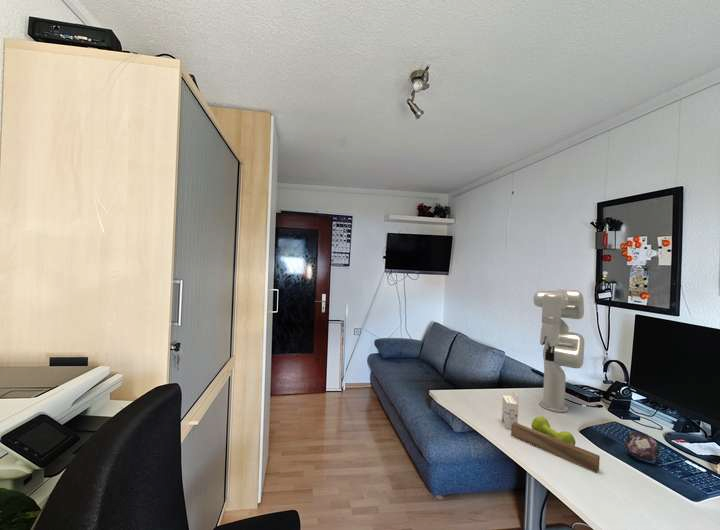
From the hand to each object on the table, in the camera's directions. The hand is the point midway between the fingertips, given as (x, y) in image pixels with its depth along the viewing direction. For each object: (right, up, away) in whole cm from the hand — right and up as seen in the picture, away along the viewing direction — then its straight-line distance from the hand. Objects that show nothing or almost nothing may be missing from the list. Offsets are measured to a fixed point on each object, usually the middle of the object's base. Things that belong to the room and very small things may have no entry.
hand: (549, 360), depth 148 cm
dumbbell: (-8, -29, -16) cm, 34 cm away
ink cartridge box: (-20, -29, -3) cm, 35 cm away
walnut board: (-13, -29, -23) cm, 39 cm away
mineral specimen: (+20, -30, -25) cm, 44 cm away
